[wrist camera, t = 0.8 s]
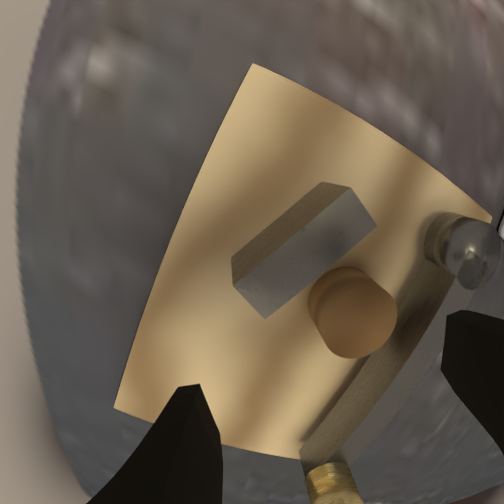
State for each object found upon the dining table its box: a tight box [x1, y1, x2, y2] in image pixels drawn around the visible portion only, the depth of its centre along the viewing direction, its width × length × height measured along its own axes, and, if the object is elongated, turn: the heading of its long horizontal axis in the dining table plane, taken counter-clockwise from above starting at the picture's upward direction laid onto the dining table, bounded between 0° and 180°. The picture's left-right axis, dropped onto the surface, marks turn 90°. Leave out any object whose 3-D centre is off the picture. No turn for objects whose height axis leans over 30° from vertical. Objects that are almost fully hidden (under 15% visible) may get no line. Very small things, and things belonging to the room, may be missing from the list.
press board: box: [114, 63, 492, 459], centre depth 18 cm, size 18×22×1 cm
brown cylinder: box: [308, 267, 397, 359], centre depth 16 cm, size 4×4×3 cm
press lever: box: [298, 212, 500, 504], centre depth 14 cm, size 19×4×7 cm, turn 155°
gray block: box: [231, 182, 377, 319], centre depth 14 cm, size 2×6×4 cm, turn 130°
